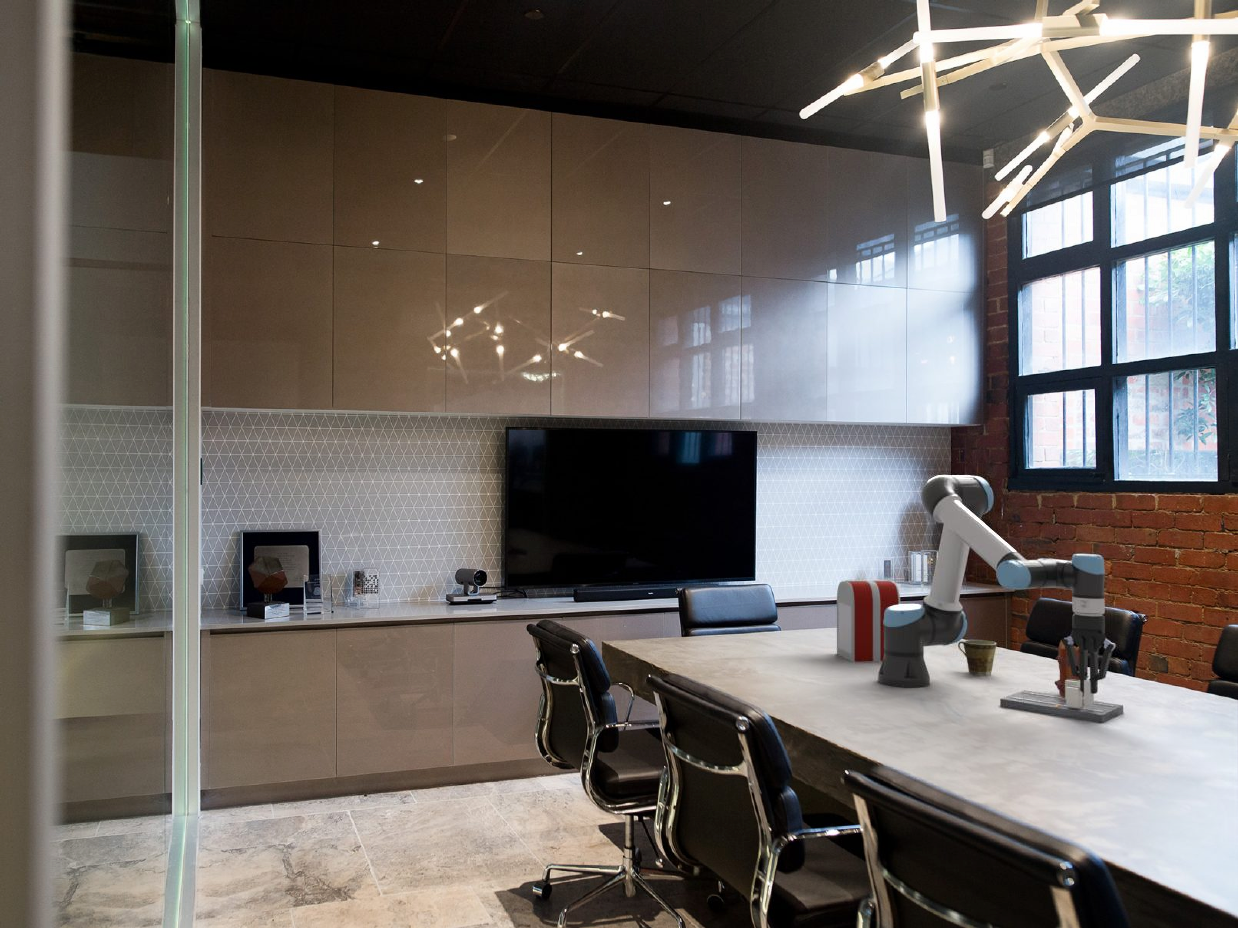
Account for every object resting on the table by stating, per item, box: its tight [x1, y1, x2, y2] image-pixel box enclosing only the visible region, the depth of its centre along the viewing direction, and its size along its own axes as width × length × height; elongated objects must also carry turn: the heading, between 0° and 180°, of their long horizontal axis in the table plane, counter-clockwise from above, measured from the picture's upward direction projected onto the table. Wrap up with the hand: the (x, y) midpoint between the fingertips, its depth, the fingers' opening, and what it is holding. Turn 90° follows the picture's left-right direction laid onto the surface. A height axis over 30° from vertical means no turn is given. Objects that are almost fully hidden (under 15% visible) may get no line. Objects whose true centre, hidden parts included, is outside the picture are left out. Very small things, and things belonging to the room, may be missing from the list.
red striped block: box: [836, 579, 901, 663], centre depth 334 cm, size 16×18×27 cm
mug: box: [1054, 640, 1084, 699], centre depth 272 cm, size 15×8×15 cm, turn 168°
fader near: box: [1066, 686, 1083, 708], centre depth 248 cm, size 3×3×5 cm
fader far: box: [1065, 679, 1080, 699], centre depth 257 cm, size 3×3×5 cm
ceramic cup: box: [957, 639, 997, 676], centre depth 306 cm, size 13×10×10 cm
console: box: [999, 689, 1124, 724], centre depth 255 cm, size 26×16×2 cm, turn 45°
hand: (1088, 705), depth 245 cm, fingers closed
